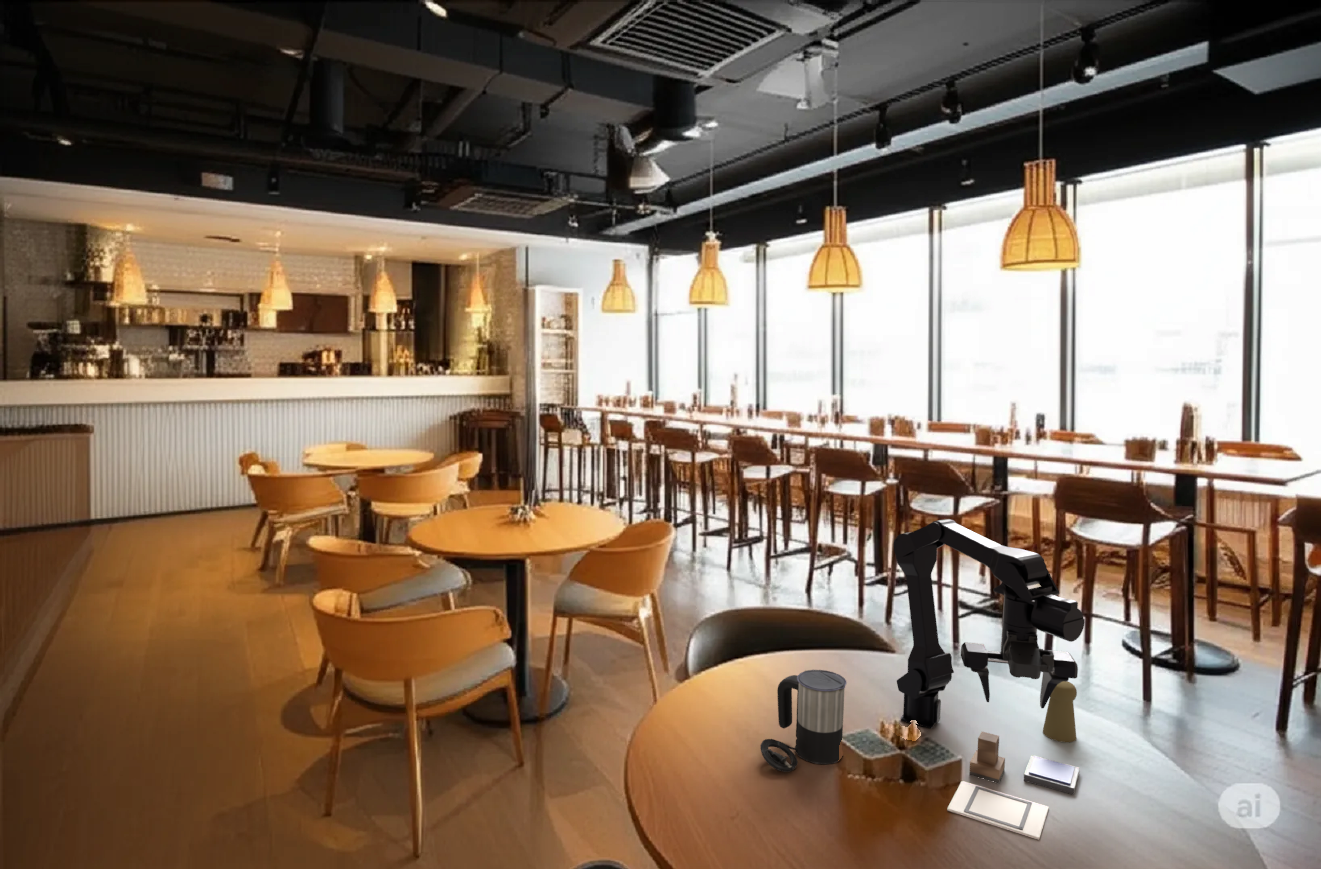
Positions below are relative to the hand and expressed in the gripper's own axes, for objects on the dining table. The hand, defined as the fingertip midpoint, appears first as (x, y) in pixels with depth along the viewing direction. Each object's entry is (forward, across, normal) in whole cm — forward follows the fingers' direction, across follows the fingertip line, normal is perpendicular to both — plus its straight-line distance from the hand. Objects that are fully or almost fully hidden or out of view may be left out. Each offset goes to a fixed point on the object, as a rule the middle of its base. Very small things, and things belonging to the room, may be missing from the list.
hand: (1014, 704), depth 142 cm
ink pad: (+12, +7, -2) cm, 14 cm away
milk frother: (+13, -37, -6) cm, 40 cm away
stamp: (+12, -4, -3) cm, 14 cm away
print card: (+12, -4, -14) cm, 20 cm away
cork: (+13, +12, +16) cm, 24 cm away
